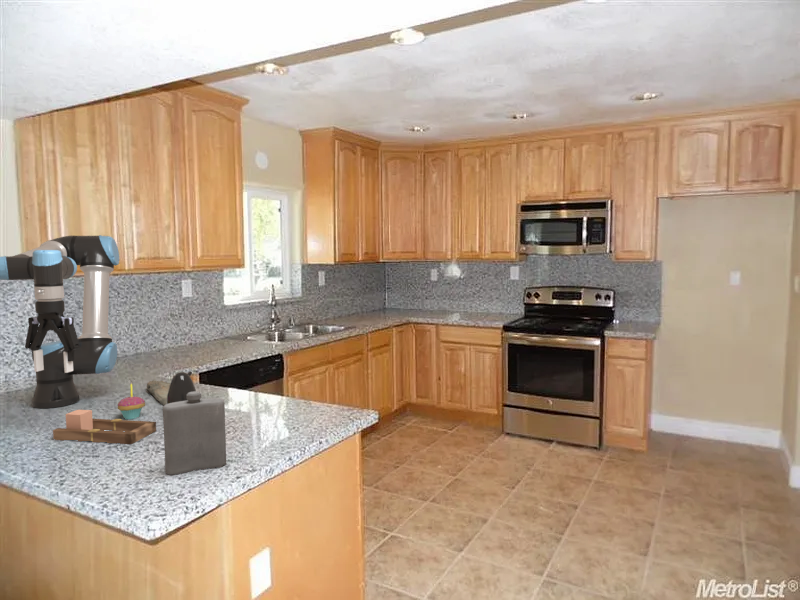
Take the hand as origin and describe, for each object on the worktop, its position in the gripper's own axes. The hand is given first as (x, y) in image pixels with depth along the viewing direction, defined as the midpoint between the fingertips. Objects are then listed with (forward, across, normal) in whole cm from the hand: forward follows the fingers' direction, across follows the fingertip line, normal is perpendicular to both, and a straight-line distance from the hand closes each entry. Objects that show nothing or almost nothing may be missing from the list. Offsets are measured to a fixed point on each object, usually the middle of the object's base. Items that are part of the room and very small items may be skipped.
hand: (54, 371), depth 165 cm
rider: (+20, +8, 0) cm, 21 cm away
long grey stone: (+20, +8, +45) cm, 50 cm away
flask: (+20, +58, -19) cm, 64 cm away
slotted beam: (+20, +17, 0) cm, 26 cm away
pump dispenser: (+20, +29, +23) cm, 42 cm away
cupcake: (+20, +13, +18) cm, 30 cm away
